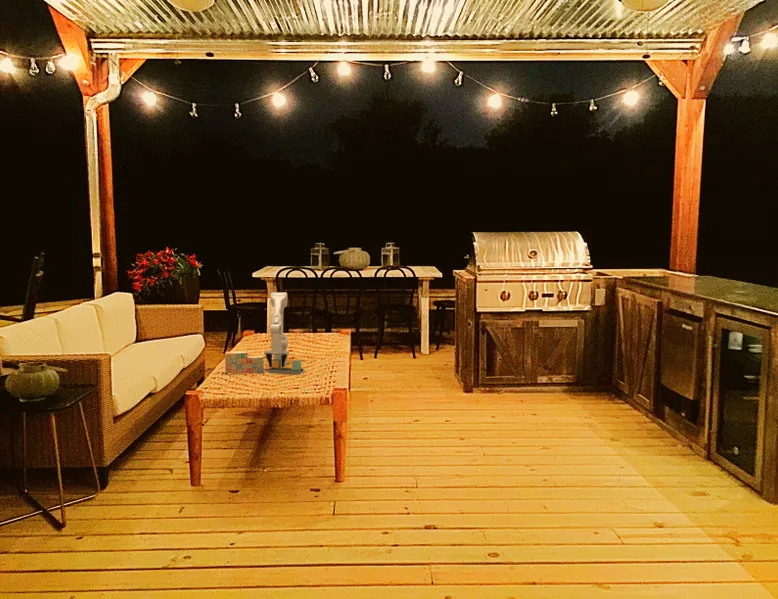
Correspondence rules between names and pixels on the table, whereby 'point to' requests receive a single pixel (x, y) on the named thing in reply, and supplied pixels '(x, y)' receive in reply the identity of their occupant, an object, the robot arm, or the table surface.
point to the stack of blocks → (243, 363)
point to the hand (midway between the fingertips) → (276, 366)
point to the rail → (289, 369)
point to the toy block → (276, 363)
